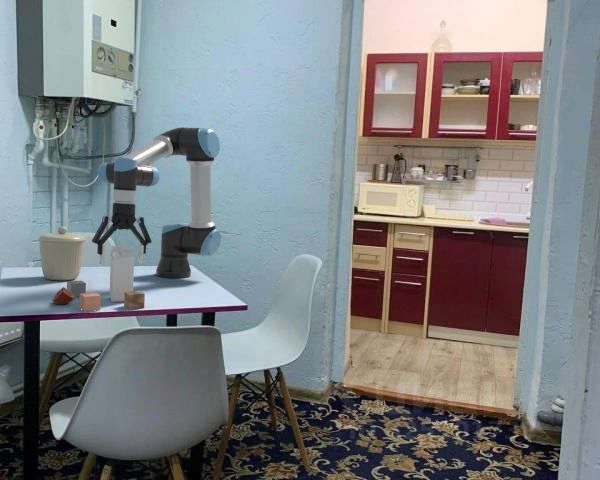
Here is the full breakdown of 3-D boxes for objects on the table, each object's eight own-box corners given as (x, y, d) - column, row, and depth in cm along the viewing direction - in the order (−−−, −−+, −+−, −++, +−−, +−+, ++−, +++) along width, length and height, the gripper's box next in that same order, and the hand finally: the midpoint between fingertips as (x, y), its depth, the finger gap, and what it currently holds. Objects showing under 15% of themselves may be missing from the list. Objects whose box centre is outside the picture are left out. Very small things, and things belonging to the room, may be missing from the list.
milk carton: (109, 297, 201) (111, 244, 199) (130, 297, 204) (132, 244, 202) (111, 302, 195) (113, 247, 193) (132, 301, 198) (134, 247, 196)
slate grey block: (81, 294, 204) (81, 280, 203) (85, 297, 200) (85, 283, 200) (66, 295, 201) (67, 281, 200) (70, 298, 197) (71, 283, 196)
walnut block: (138, 305, 193) (138, 290, 193) (144, 308, 190) (144, 293, 189) (124, 306, 190) (124, 291, 190) (129, 309, 186) (130, 294, 186)
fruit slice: (53, 300, 191) (53, 286, 191) (74, 300, 193) (75, 286, 193) (51, 306, 183) (52, 291, 183) (74, 306, 186) (74, 291, 185)
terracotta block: (94, 307, 186) (95, 292, 186) (100, 310, 182) (100, 295, 182) (79, 308, 183) (79, 293, 183) (84, 312, 179) (84, 296, 179)
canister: (93, 276, 237) (94, 226, 235) (71, 284, 219) (73, 230, 217) (51, 273, 238) (52, 223, 236) (27, 280, 221) (28, 226, 218)
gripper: (153, 203, 206) (151, 261, 208) (83, 200, 191) (81, 262, 193) (162, 204, 200) (159, 264, 202) (91, 201, 185) (88, 266, 187)
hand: (121, 263), depth 198 cm, fingers open, 13 cm apart
